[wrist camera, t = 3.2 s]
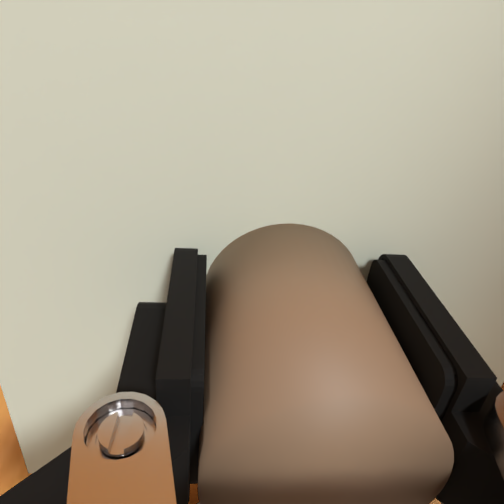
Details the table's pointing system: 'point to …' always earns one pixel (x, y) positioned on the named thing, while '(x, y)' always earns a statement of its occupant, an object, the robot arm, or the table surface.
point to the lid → (252, 221)
